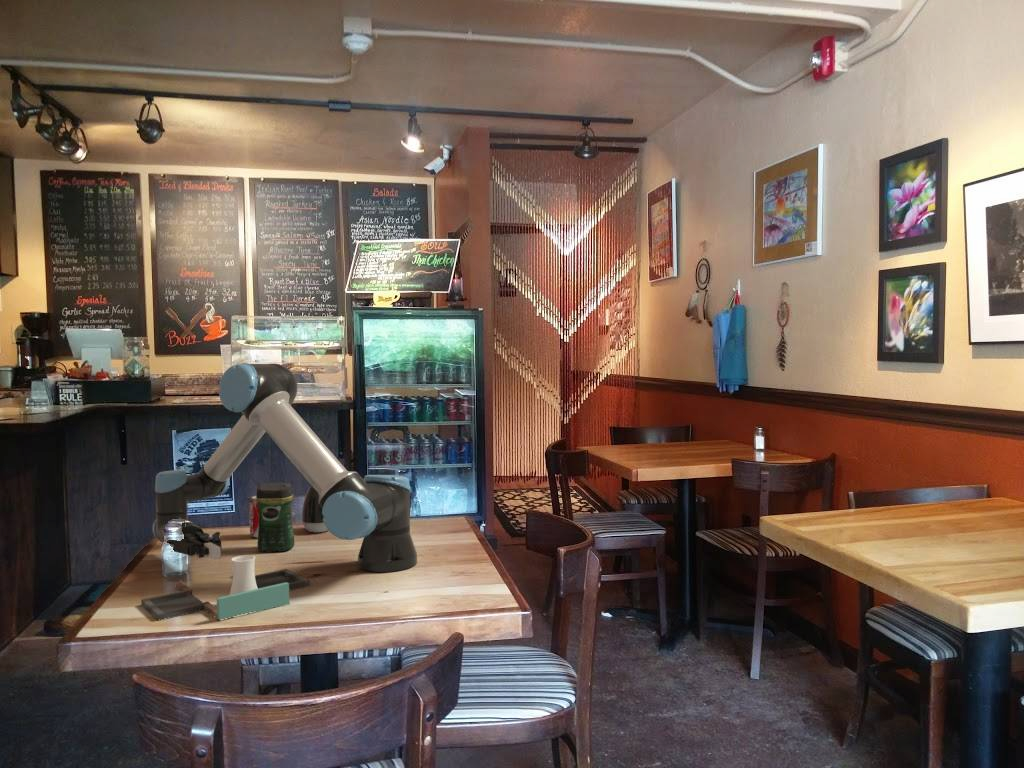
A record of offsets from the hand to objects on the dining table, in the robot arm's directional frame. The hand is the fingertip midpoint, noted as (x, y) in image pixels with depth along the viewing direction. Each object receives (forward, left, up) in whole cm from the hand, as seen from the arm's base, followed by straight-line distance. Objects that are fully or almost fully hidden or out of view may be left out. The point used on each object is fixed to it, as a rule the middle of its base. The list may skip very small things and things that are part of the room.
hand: (217, 553), depth 164 cm
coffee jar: (+8, -33, -8) cm, 35 cm away
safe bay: (-18, +11, -8) cm, 23 cm away
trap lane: (-6, +3, -8) cm, 10 cm away
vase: (-13, +7, -8) cm, 17 cm away
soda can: (+21, -44, -8) cm, 49 cm away
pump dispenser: (+9, -55, -8) cm, 56 cm away
